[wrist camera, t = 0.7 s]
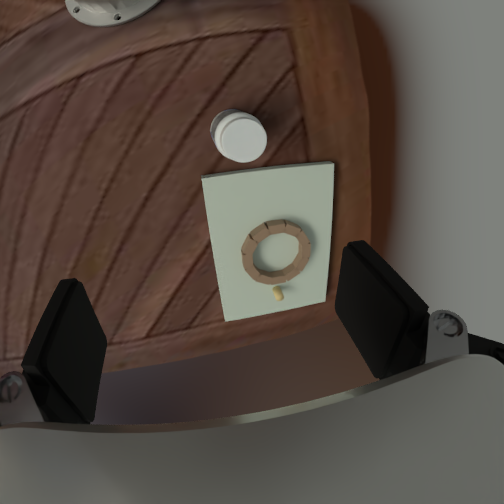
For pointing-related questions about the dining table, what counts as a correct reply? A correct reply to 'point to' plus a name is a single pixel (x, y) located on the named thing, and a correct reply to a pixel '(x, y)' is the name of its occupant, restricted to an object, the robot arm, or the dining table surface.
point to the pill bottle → (238, 135)
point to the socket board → (270, 236)
